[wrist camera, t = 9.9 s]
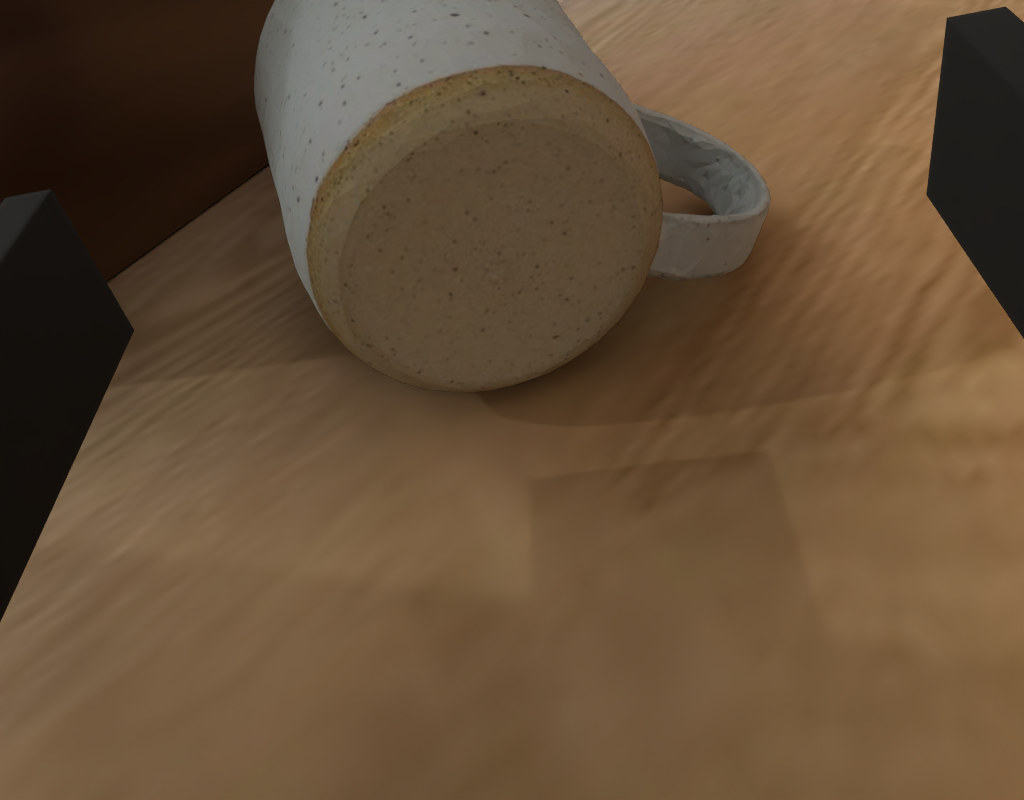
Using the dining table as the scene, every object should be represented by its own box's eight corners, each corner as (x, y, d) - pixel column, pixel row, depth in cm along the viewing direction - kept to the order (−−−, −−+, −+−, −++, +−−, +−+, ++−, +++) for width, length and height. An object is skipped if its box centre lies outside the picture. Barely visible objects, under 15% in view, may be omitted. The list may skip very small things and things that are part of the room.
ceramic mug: (364, 466, 19) (222, 111, 14) (313, 264, 25) (202, -35, 20) (842, 308, 20) (872, -76, 15) (682, 151, 26) (665, -160, 21)
